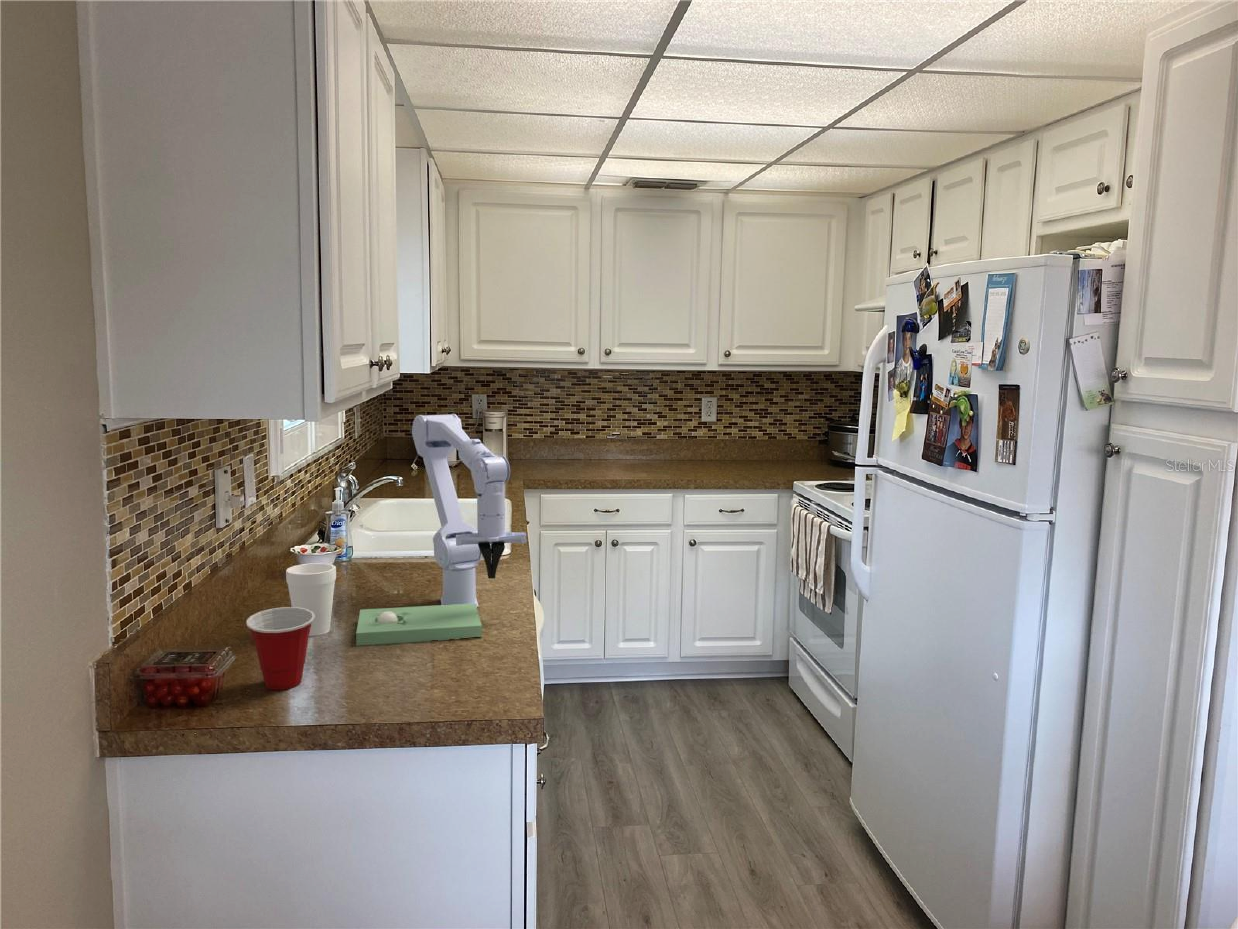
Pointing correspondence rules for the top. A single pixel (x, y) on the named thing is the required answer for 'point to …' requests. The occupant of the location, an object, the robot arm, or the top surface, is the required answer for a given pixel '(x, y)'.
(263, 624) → the plastic cup
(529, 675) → the top surface
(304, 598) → the foam cup
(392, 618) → the ball
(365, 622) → the putting mat
